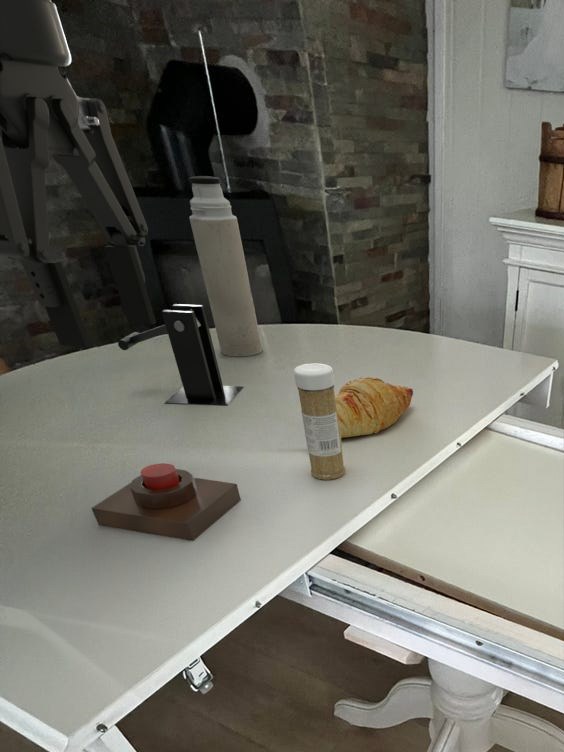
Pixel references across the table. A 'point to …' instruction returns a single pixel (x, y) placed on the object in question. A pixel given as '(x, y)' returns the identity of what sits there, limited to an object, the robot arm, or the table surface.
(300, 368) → the spice jar
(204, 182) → the thermos bottle
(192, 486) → the button block
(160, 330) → the lever
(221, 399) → the bracket
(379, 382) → the croissant
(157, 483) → the button
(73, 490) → the table surface
